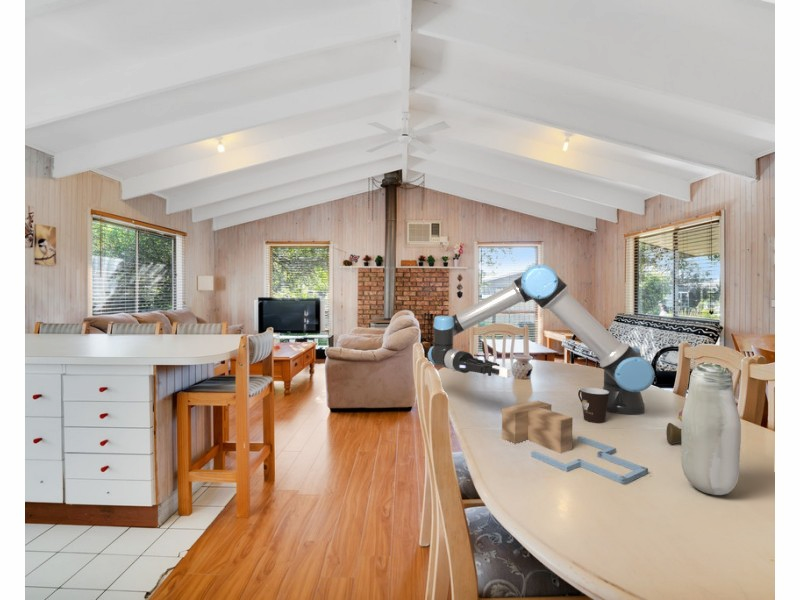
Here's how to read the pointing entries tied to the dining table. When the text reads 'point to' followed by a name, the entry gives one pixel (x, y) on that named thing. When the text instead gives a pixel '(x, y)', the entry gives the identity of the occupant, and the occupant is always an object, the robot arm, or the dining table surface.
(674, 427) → the kendama
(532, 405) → the t block
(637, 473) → the t outline
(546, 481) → the dining table surface
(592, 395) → the coffee mug
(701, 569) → the dining table surface
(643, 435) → the dining table surface
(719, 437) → the glass bottle
